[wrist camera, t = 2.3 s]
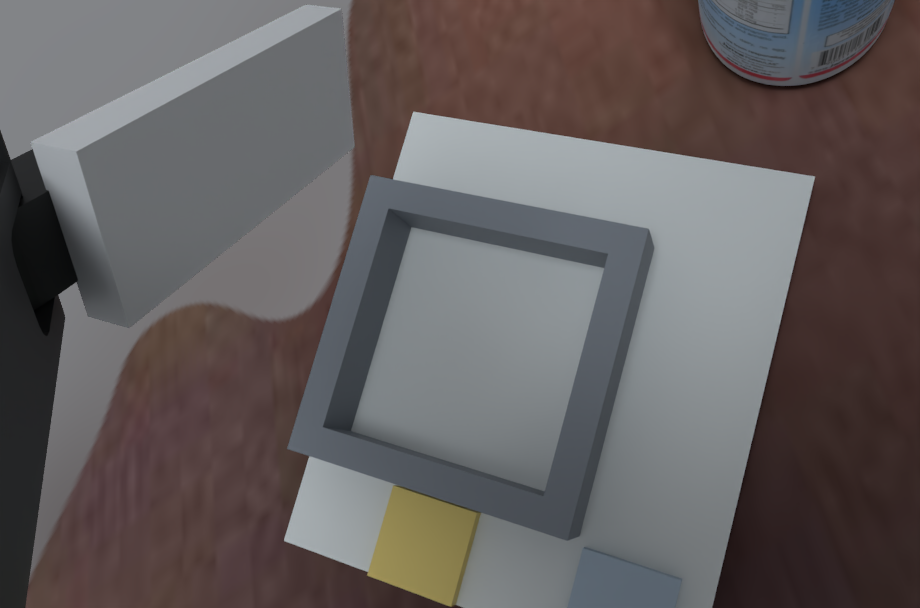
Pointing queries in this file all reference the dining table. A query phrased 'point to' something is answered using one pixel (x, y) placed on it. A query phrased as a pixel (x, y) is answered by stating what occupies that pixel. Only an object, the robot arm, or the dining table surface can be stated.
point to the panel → (545, 369)
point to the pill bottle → (791, 36)
